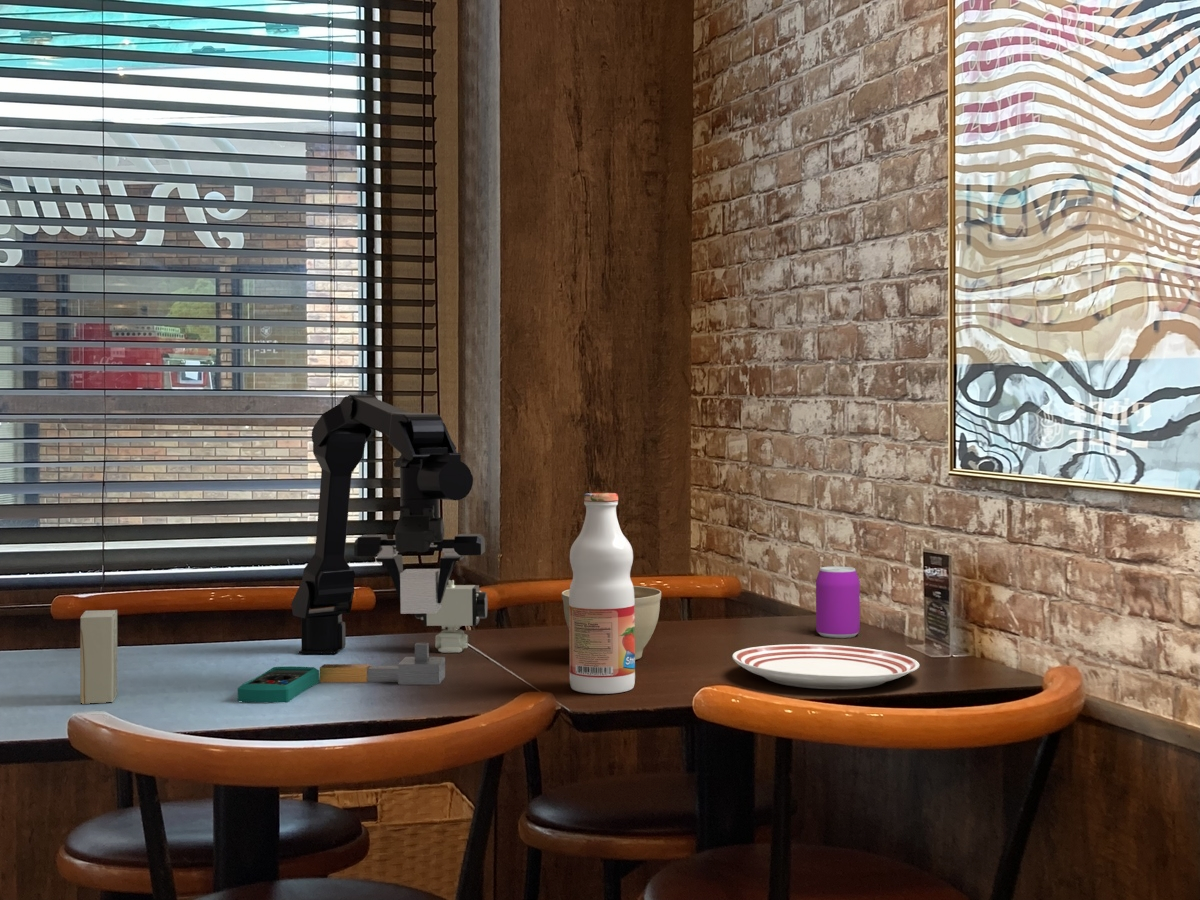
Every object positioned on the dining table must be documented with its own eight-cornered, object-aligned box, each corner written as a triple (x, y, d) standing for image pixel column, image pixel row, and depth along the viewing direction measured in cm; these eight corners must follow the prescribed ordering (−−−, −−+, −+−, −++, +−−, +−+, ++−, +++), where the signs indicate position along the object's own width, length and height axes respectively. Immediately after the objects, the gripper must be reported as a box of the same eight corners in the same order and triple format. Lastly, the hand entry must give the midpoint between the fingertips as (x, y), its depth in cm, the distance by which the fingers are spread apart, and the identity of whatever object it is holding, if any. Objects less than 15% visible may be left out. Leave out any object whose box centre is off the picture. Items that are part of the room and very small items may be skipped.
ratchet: (316, 684, 189) (316, 647, 189) (326, 676, 195) (326, 640, 195) (439, 684, 189) (438, 647, 188) (445, 676, 195) (444, 640, 194)
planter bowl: (547, 654, 213) (547, 588, 213) (636, 647, 220) (635, 583, 219) (585, 670, 198) (584, 600, 198) (678, 662, 205) (678, 594, 205)
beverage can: (810, 632, 233) (809, 566, 233) (850, 631, 234) (850, 565, 234) (825, 639, 225) (824, 571, 225) (866, 638, 227) (866, 570, 227)
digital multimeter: (234, 705, 177) (234, 684, 177) (272, 684, 192) (272, 664, 192) (286, 707, 176) (286, 685, 176) (320, 685, 191) (320, 665, 191)
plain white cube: (400, 613, 189) (400, 572, 189) (406, 608, 194) (406, 569, 194) (436, 613, 189) (435, 572, 189) (441, 608, 194) (440, 568, 194)
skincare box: (85, 696, 182) (84, 610, 182) (119, 694, 183) (118, 609, 183) (79, 705, 176) (78, 616, 176) (114, 703, 177) (113, 615, 177)
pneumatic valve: (485, 653, 214) (484, 581, 214) (414, 654, 214) (414, 582, 214) (488, 648, 219) (488, 577, 219) (420, 648, 220) (419, 578, 219)
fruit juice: (562, 684, 188) (561, 492, 188) (624, 680, 191) (622, 491, 190) (579, 697, 179) (577, 495, 179) (643, 692, 182) (642, 494, 181)
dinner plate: (853, 657, 210) (853, 636, 210) (958, 688, 184) (958, 665, 184) (701, 669, 200) (701, 648, 200) (789, 704, 174) (789, 680, 174)
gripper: (345, 501, 184) (346, 611, 184) (475, 500, 183) (477, 610, 183) (361, 497, 195) (363, 601, 195) (484, 496, 194) (486, 600, 194)
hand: (421, 603), depth 192 cm, fingers closed on plain white cube, 5 cm apart
